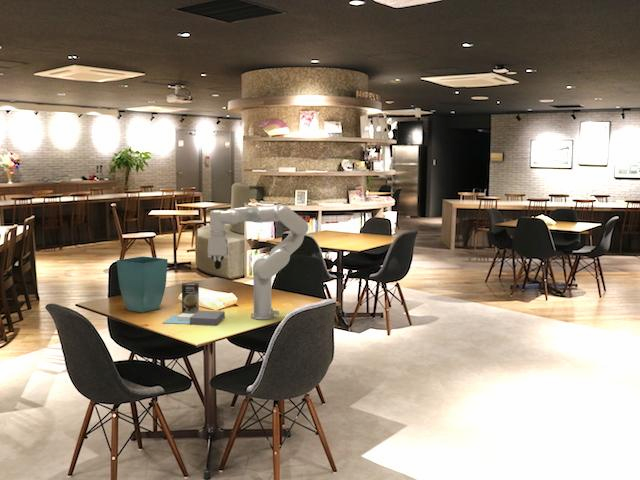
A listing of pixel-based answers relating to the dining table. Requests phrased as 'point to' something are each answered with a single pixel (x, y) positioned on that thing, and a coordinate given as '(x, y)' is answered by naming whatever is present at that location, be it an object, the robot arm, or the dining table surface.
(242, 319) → the dining table surface
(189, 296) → the coffee box
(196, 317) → the board
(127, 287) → the flower pot
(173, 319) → the mat
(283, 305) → the dining table surface
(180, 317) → the tile
